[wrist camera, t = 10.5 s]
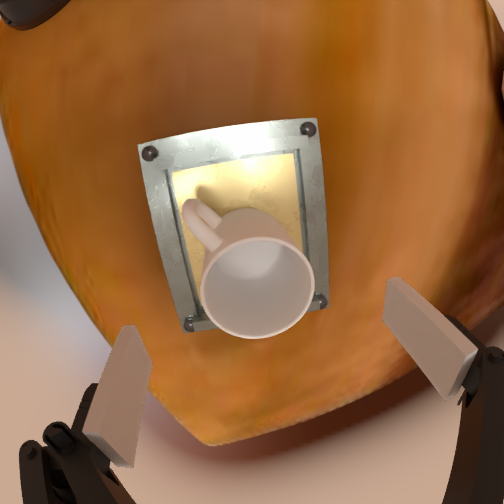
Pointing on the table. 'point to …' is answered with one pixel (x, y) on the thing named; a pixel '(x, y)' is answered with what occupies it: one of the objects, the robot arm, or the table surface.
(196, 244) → the silver and gold block
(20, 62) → the table surface
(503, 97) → the geometric sphere
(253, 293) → the cup
